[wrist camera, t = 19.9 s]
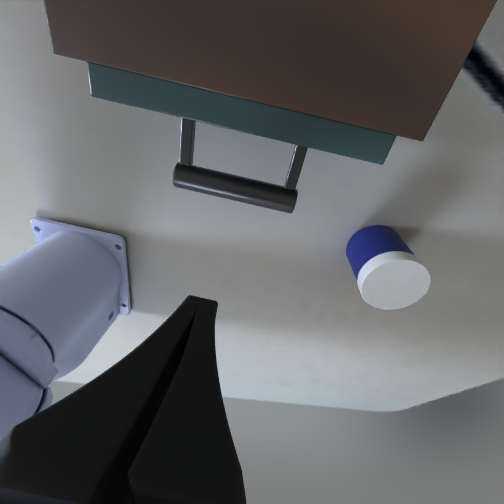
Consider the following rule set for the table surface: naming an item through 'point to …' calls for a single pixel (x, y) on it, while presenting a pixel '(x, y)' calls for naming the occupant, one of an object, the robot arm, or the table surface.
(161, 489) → the robot arm
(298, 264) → the table surface
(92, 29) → the cabinet
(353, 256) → the blue jar
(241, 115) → the drawer
